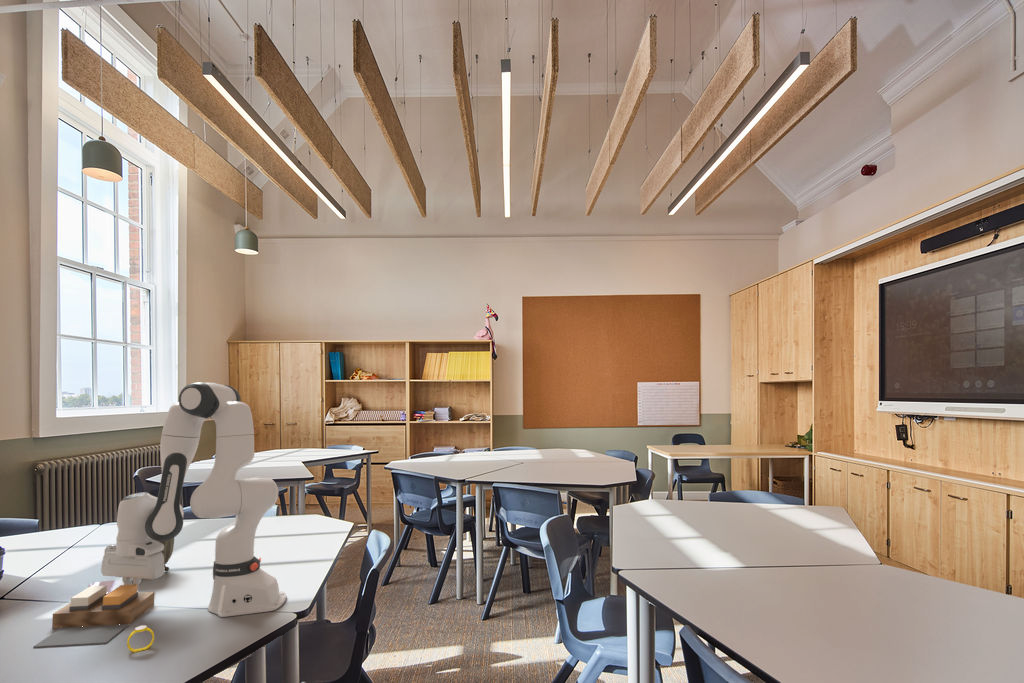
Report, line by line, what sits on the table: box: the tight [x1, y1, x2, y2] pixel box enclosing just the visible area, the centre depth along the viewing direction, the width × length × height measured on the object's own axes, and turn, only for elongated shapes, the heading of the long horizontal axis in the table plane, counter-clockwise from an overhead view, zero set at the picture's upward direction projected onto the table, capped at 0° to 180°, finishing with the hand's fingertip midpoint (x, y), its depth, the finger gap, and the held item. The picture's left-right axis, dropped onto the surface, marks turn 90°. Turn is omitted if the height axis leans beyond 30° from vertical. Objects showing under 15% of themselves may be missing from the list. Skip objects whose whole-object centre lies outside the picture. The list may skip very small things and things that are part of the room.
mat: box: [33, 624, 130, 649], centre depth 161 cm, size 18×12×1 cm, turn 97°
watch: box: [126, 624, 155, 654], centre depth 153 cm, size 6×3×6 cm, turn 124°
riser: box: [51, 591, 156, 629], centre depth 174 cm, size 21×14×4 cm, turn 97°
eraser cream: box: [69, 585, 107, 611], centre depth 174 cm, size 5×10×4 cm, turn 7°
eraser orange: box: [102, 584, 139, 610], centre depth 174 cm, size 5×10×4 cm, turn 7°
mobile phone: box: [87, 580, 116, 594], centre depth 196 cm, size 8×1×15 cm
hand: (131, 591), depth 180 cm, fingers closed
